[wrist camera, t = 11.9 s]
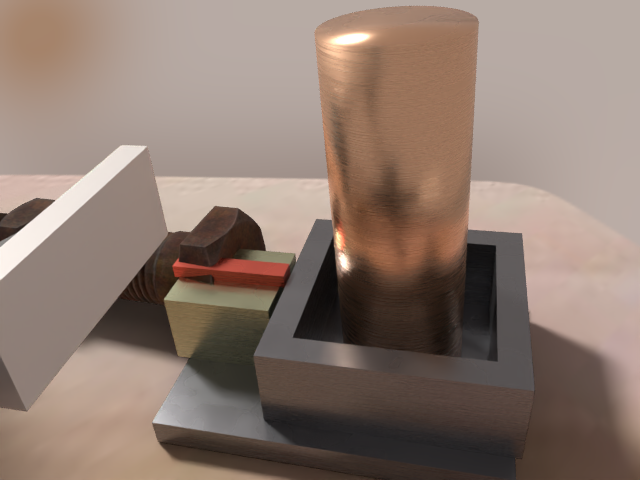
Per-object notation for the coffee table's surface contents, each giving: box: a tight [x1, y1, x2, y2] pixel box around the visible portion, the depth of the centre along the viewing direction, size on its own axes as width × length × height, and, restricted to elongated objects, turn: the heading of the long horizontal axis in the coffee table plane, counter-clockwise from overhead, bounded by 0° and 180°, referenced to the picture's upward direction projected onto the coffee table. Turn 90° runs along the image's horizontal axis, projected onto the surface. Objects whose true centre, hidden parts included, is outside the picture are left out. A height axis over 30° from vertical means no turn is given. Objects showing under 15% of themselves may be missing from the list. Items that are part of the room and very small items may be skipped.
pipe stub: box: [315, 6, 479, 357], centre depth 20 cm, size 4×4×12 cm
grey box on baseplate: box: [152, 219, 535, 480], centre depth 23 cm, size 13×10×4 cm
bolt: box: [0, 198, 266, 306], centre depth 27 cm, size 6×5×15 cm
